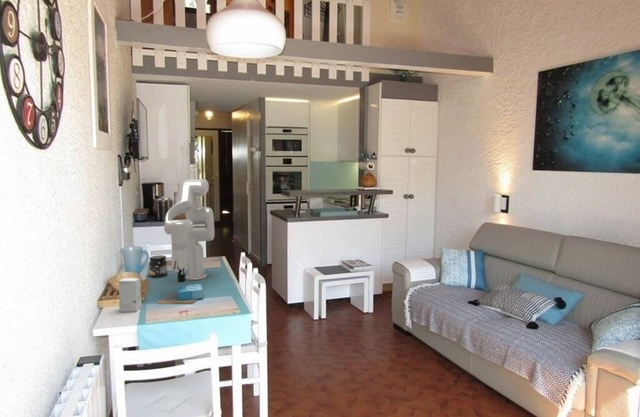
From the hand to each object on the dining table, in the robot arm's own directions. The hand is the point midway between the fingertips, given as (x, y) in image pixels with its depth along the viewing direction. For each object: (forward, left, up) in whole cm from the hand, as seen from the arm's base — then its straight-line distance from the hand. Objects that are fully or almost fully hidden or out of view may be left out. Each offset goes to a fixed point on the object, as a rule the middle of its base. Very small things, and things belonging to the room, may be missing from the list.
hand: (181, 281), depth 228 cm
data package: (-7, +1, -6) cm, 9 cm away
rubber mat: (+1, 0, -9) cm, 9 cm away
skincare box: (+19, -17, -9) cm, 27 cm away
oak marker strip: (+9, 0, -9) cm, 12 cm away
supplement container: (-46, -36, -9) cm, 59 cm away
